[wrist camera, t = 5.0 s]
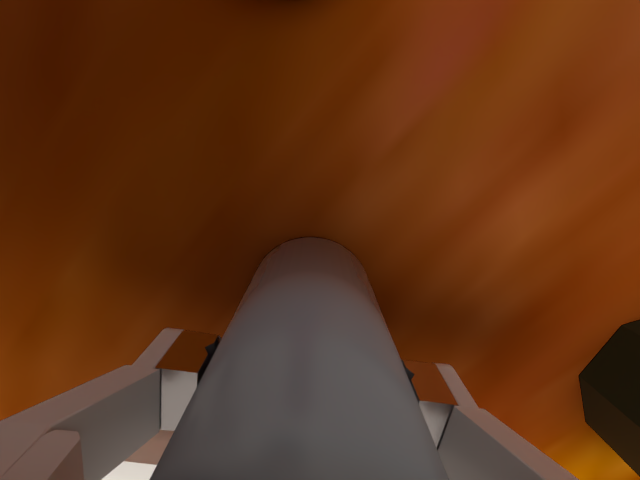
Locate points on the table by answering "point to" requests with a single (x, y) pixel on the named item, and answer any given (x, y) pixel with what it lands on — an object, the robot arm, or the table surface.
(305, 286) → the grey cylinder
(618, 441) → the wine bottle
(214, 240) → the table surface
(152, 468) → the serving tray
